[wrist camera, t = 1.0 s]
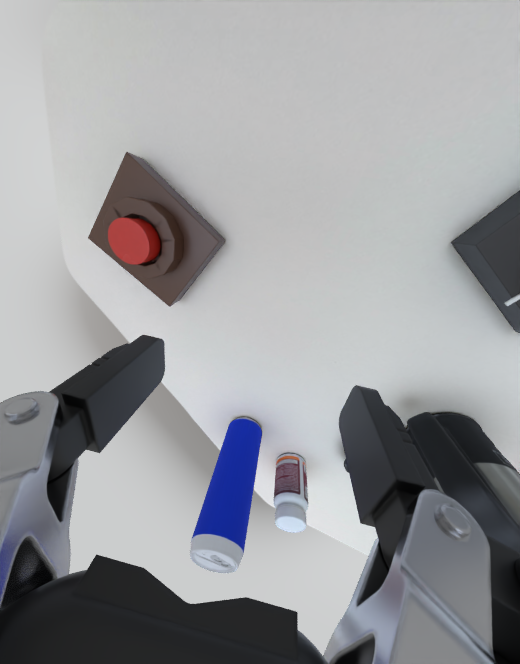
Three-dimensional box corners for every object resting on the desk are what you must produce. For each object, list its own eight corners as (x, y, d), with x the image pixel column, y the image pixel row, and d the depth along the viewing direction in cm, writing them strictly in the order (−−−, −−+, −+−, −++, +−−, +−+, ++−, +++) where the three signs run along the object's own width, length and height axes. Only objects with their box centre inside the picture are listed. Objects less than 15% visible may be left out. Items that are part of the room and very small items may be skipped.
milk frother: (499, 433, 27) (690, 627, 14) (403, 488, 34) (471, 651, 21) (408, 381, 26) (526, 542, 13) (328, 450, 33) (350, 599, 20)
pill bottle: (270, 461, 36) (264, 523, 29) (288, 448, 34) (287, 510, 27) (293, 474, 37) (292, 538, 29) (312, 462, 35) (317, 527, 27)
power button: (116, 241, 20) (100, 242, 18) (133, 208, 18) (118, 206, 17) (148, 270, 21) (137, 273, 19) (168, 240, 19) (157, 241, 18)
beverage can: (223, 427, 34) (177, 556, 21) (241, 409, 32) (203, 542, 18) (249, 443, 35) (222, 578, 22) (269, 427, 33) (252, 567, 19)
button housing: (104, 236, 23) (70, 239, 20) (142, 158, 20) (109, 143, 16) (179, 300, 26) (160, 312, 22) (226, 240, 22) (212, 243, 18)
